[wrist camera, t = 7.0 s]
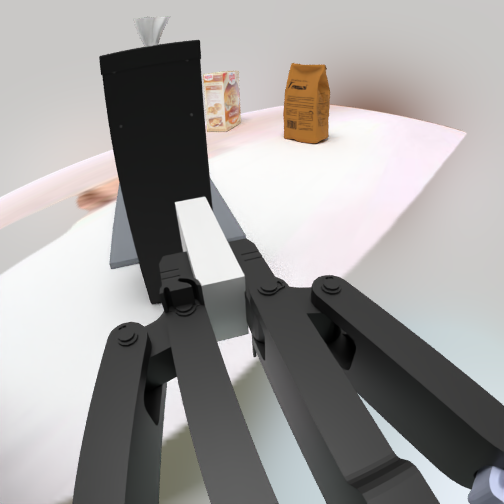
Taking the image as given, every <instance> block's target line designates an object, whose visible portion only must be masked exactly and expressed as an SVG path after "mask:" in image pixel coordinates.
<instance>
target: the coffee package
mask: <svg viewBox="0 0 504 504" xmlns="http://www.w3.org/2000/svg"><path fill="white" fill-rule="evenodd" d="M326 69H327V68H326V66H325V65H301V64H294V63H292V65H291V68H290V71H289V76H288V80H287V86H286V89H285V101H284V113H283V116H284V138H285V139H295V140H296V141H298V142H305V143H318V142H319V141H321V140H323V139H326V138H328V117H329V99H330V89H329V85H328V80H327V76H326Z"/></svg>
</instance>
